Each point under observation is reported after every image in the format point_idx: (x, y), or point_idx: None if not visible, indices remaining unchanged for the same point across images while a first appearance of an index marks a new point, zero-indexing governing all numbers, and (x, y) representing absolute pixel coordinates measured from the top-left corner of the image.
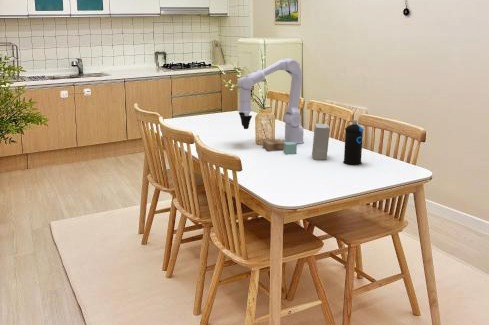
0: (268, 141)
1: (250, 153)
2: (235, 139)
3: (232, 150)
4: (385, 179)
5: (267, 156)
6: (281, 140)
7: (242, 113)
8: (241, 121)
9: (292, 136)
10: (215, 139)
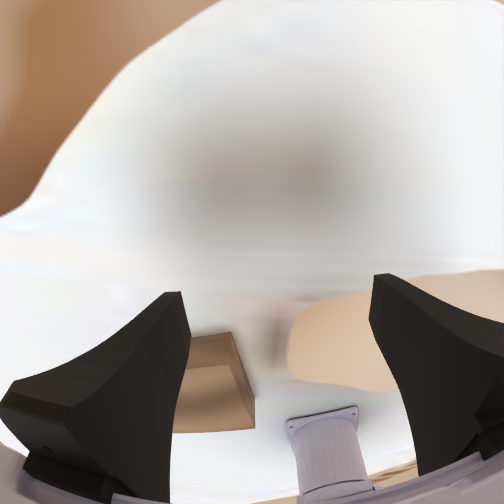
0: (192, 384)
1: (72, 251)
2: (464, 169)
3: (129, 127)
4: (16, 450)
5: (47, 324)
6: (224, 430)
7: (469, 417)
8: (406, 298)
9: (296, 460)
10: (467, 40)
